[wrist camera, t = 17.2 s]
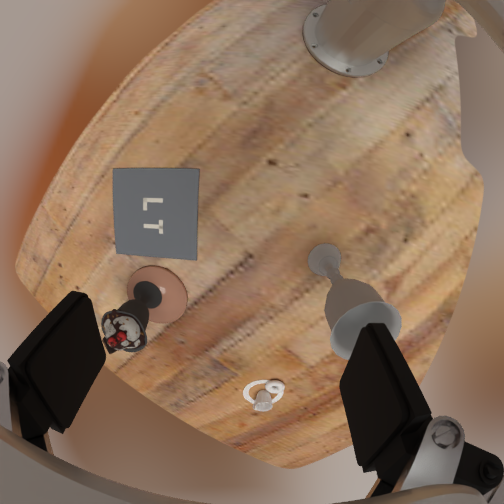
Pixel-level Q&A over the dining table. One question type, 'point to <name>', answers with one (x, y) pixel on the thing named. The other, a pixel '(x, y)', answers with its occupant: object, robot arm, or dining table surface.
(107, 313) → the sundae
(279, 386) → the teacup and saucer
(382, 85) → the dining table surface
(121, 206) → the card
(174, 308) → the coaster
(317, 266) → the chalice
